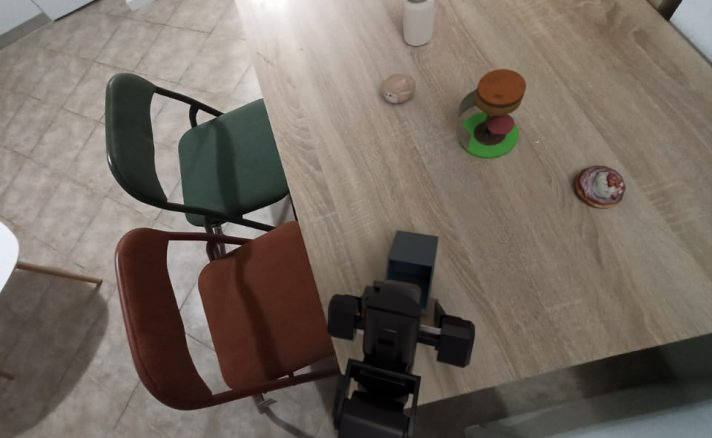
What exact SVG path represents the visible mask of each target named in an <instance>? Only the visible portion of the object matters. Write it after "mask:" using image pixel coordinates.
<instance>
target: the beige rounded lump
mask: <svg viewBox="0 0 712 438" xmlns="http://www.w3.org/2000/svg"><path fill="white" fill-rule="evenodd" d="M415 91H416V81H415V78H414V77H412V75H409V76H408V75H405V74H402V73H394V74H391V75H390V76H388V77H387V78H386V79H385V80H384V81H383V82H382V84H381V85H380V92H381V94H382V95H383V96H384V98H385V99H386V101H387V102H389V103H391V104H402V103H404V102H406V101H408V100H409V99H411V98H412V97H413V95H414V94H415Z"/></svg>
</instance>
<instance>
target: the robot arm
mask: <svg viewBox="0 0 712 438" xmlns="http://www.w3.org/2000/svg"><path fill="white" fill-rule="evenodd" d="M420 296H421V289H420V287H419V286H418V285H416V284H412V283H405V282H400V281H395V280H386V281H385V280H384V281H381V280H376V279H373V282H372V284H366V285H365V287H364V289H363V292H362V294H361V295H360V296H358V295H352V294H347V293H345V294H341V293H335V294H333V295H332V296H331V298H330V299H329V302H328V307H327V323H326V324H327V325H326V331H327V333H328V335H329V336H330V337H331V338H336V339H340V340H344V341H348V342H352V343H355V341H356V337H357V334H358V335H363V336H362V346H361V347H362V348H361V350H362V354H363V358H362V360H359V359H354V358H350V357H348V358H347V361H346V362H347V363H346V366H345V371H344V373H339V375H338V379H337V384H336V385H337V386H336V390H335V395H334V400H333V405H332V411H331V417H330V418H331V419H332V425H333V428H334V429H333V430H334V433H337V438H414V432H415V431H414V430H415V423H416V417H417V416H416V415H417V410H418V409H417V408H418V402H419V396H420V390H421V389H420V388H421V381H422V376H421V375H417V374H414V373H413V372H414V367H415V362H416V361H415V360H416V354H417V348H418V344H421V345H426V346H429V347H434V351H437V352H436V356H435V357H436V358H435V362H436V363H440V364H443V365H447V366H451V367H455V368H461V369H464V368H466V367H468V366H469V365H470V363H471V357H472V353H473V348H474V343H475V339H476V338H475V337H476V325H475V324H474V323H473V321H472V320H468V319H464V318H463V317H460V316H457V315H456V316H455V315H452V314H448V313H447V312H446V311H445V309H444V308H443V307H442V305H441V303H440V301H439V302H437V301H435V307H434V327H431V326H426V325H421V320H420V317H421V308H420V306H419V303H420ZM352 379H353V382H355V383H357V385H356V386H357V387H356V389H353V391H352V392H351V396H350V398H349V395H350V390H351V385H352V384H351V382H352ZM410 395H411V396H412V401H411V407H410V414H409V415H407V414H404V413H405V407H406V405H407V403H408V401H409V398H410Z"/></svg>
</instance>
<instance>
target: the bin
mask: <svg viewBox="0 0 712 438" xmlns="http://www.w3.org/2000/svg"><path fill="white" fill-rule="evenodd" d="M439 238H440V237H439V235H433V234H426V233H420V232H419V233H418V232H413V231H412V232H411V231H405V230H398V229H397V230H396V232H395V235H394V238H393V241H392V244H391V246H390V248H389V252H388V256H387V257H386V258H387V259H386V267H385V277H384V282H385V281H386V280H395V281H400V282H405V283H412V284H416V285H418V286H419V287H420V289H421V296H420V303H419V306H420V308H421V314H426V315H427V312H428V305H429V299H430V298H431V292H432V285H433V279H434V272H435V267H436V258H437V252H438V245H439Z"/></svg>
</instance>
